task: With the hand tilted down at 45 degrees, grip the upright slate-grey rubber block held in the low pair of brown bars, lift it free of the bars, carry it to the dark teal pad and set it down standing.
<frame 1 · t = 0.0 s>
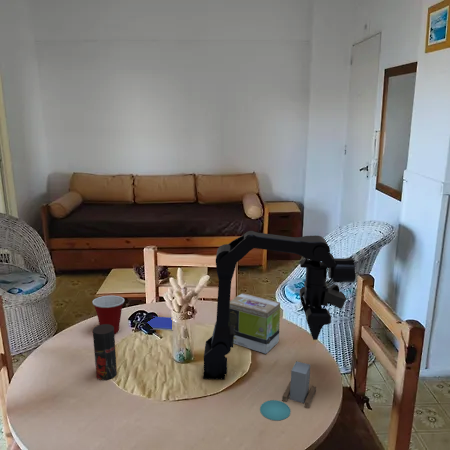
hand: (312, 331, 133), 15 cm above the table, tool pointing down, fingers open, 9 cm apart
plastic cup: (110, 331, 162), on the table
grey block: (299, 396, 127), on the table
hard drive: (158, 325, 167), on the table
pair of brown bars: (299, 396, 127), on the table
deodorant: (106, 375, 136), on the table
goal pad: (275, 410, 121), on the table
tea box: (253, 342, 155), on the table
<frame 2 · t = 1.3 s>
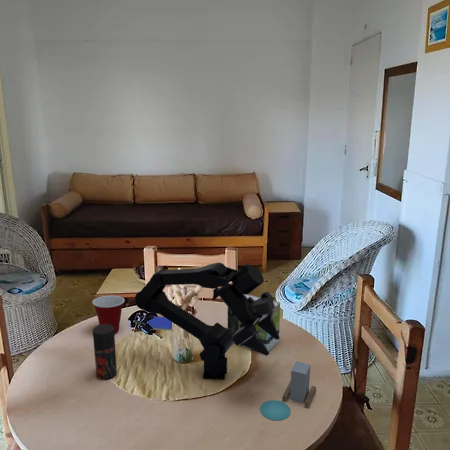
hand: (273, 346, 127), 13 cm above the table, tool tilted 45°, fingers open, 9 cm apart
nothing on the table moved.
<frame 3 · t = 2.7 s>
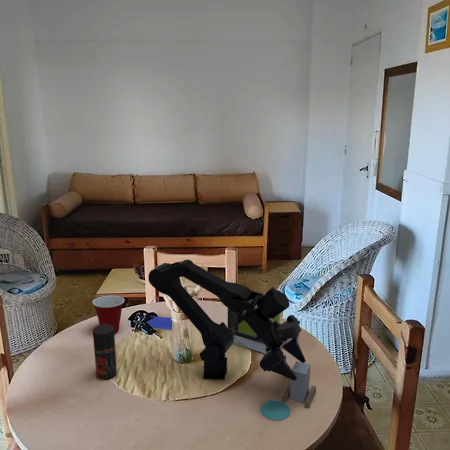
hand: (300, 370, 125), 8 cm above the table, tool tilted 45°, fingers open, 9 cm apart
nothing on the table moved.
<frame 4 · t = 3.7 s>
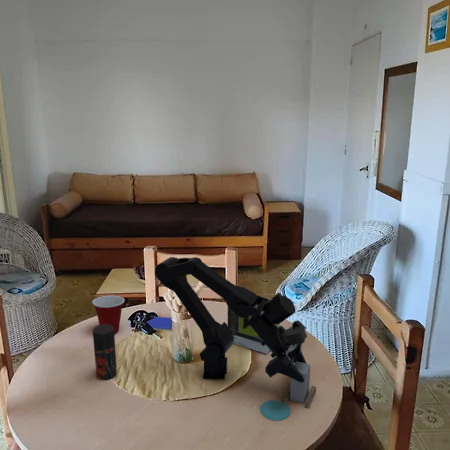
hand: (305, 376, 125), 7 cm above the table, tool tilted 45°, fingers closed on grey block, 5 cm apart
grey block: (299, 396, 127), on the table, touching gripper
everything else where it was.
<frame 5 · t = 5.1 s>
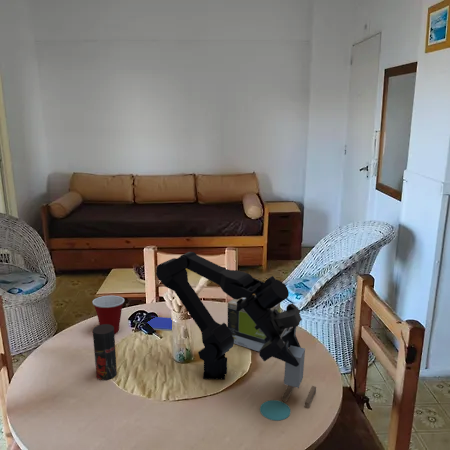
hand: (300, 360, 122), 12 cm above the table, tool tilted 45°, fingers closed on grey block, 5 cm apart
grey block: (293, 380, 124), point 6 cm above the table, touching gripper
everything else where it was.
when the fingers open (8 cm above the table, at t = 6.8 s): grey block drops 1 cm, resting on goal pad.
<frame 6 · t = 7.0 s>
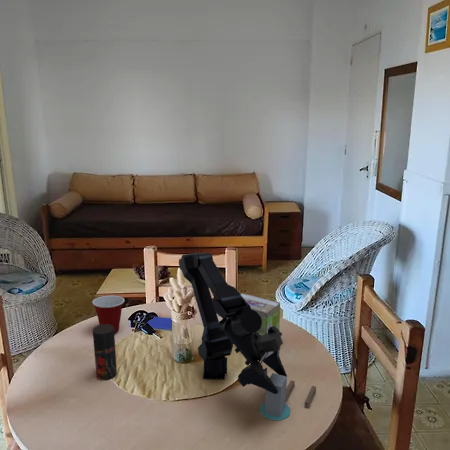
hand: (281, 385, 119), 8 cm above the table, tool tilted 45°, fingers open, 7 cm apart
grey block: (275, 409, 121), resting on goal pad
everything else where it was.
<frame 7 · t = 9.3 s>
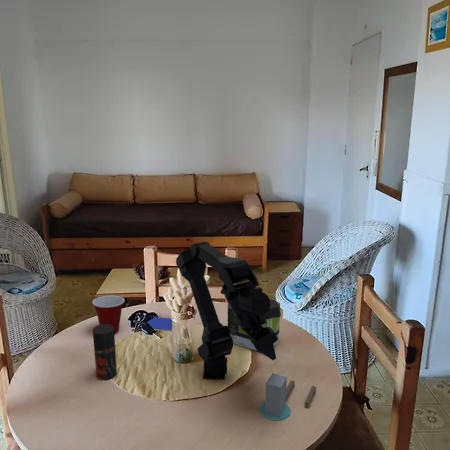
hand: (268, 351, 125), 13 cm above the table, tool tilted 30°, fingers open, 9 cm apart
nothing on the table moved.
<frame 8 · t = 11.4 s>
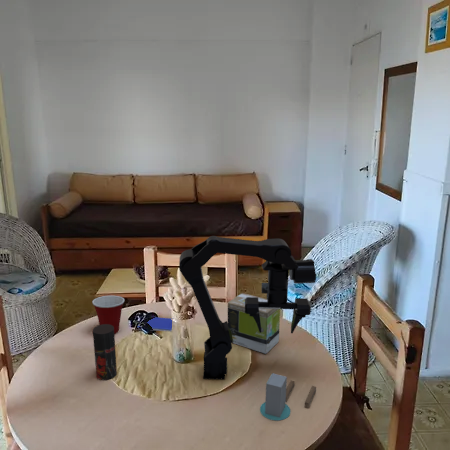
hand: (275, 332, 135), 13 cm above the table, tool pointing down, fingers open, 9 cm apart
nothing on the table moved.
at the end: grey block 0.0 cm from the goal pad (horizontally); grey block tilted 0°; the gripper is holding nothing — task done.
